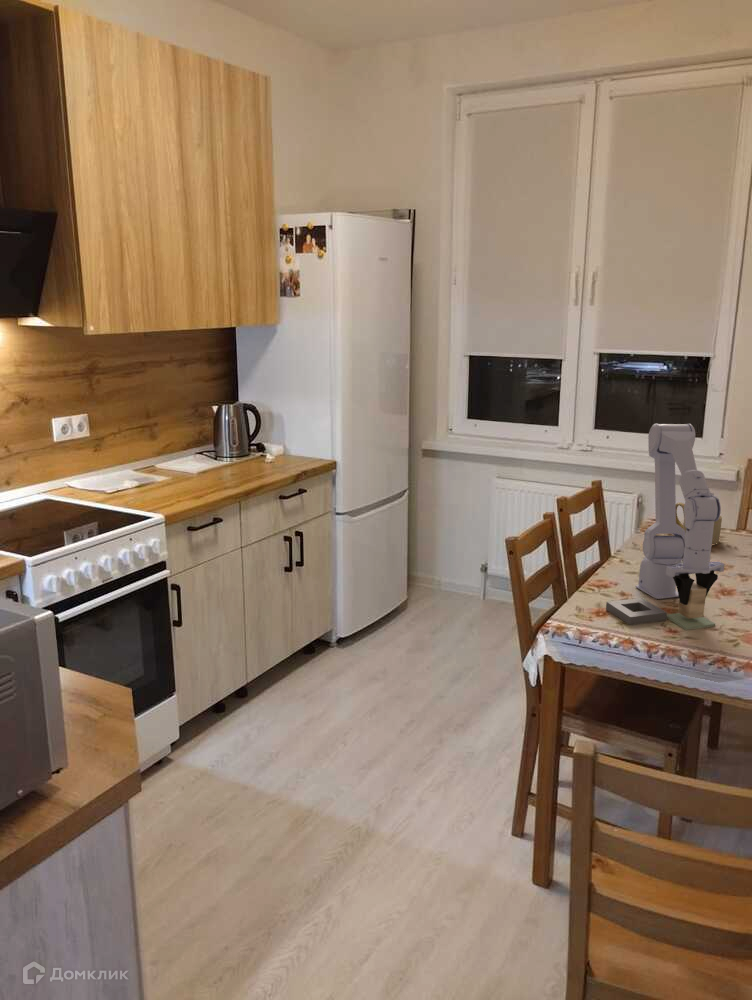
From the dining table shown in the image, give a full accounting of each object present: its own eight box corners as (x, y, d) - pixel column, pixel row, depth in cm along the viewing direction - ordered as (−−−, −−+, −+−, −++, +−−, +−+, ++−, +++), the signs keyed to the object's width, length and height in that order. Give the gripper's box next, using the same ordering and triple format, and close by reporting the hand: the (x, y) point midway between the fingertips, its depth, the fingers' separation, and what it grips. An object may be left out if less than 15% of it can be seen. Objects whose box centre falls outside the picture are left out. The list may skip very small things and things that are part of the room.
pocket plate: (605, 609, 191) (606, 601, 191) (641, 605, 194) (641, 597, 193) (629, 624, 182) (630, 617, 181) (666, 620, 185) (666, 612, 184)
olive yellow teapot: (667, 541, 247) (672, 495, 243) (670, 532, 256) (675, 488, 253) (718, 547, 241) (724, 500, 237) (719, 538, 250) (724, 493, 247)
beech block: (677, 612, 185) (680, 584, 183) (691, 610, 186) (695, 583, 184) (688, 618, 181) (692, 590, 180) (703, 616, 182) (706, 588, 181)
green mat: (664, 616, 187) (664, 614, 187) (692, 613, 189) (692, 611, 189) (686, 629, 179) (686, 627, 179) (715, 626, 182) (715, 623, 181)
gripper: (682, 555, 174) (676, 611, 177) (736, 549, 178) (729, 605, 181) (662, 545, 181) (657, 600, 184) (715, 541, 184) (708, 594, 188)
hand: (691, 602), depth 183 cm, fingers closed on beech block, 4 cm apart
